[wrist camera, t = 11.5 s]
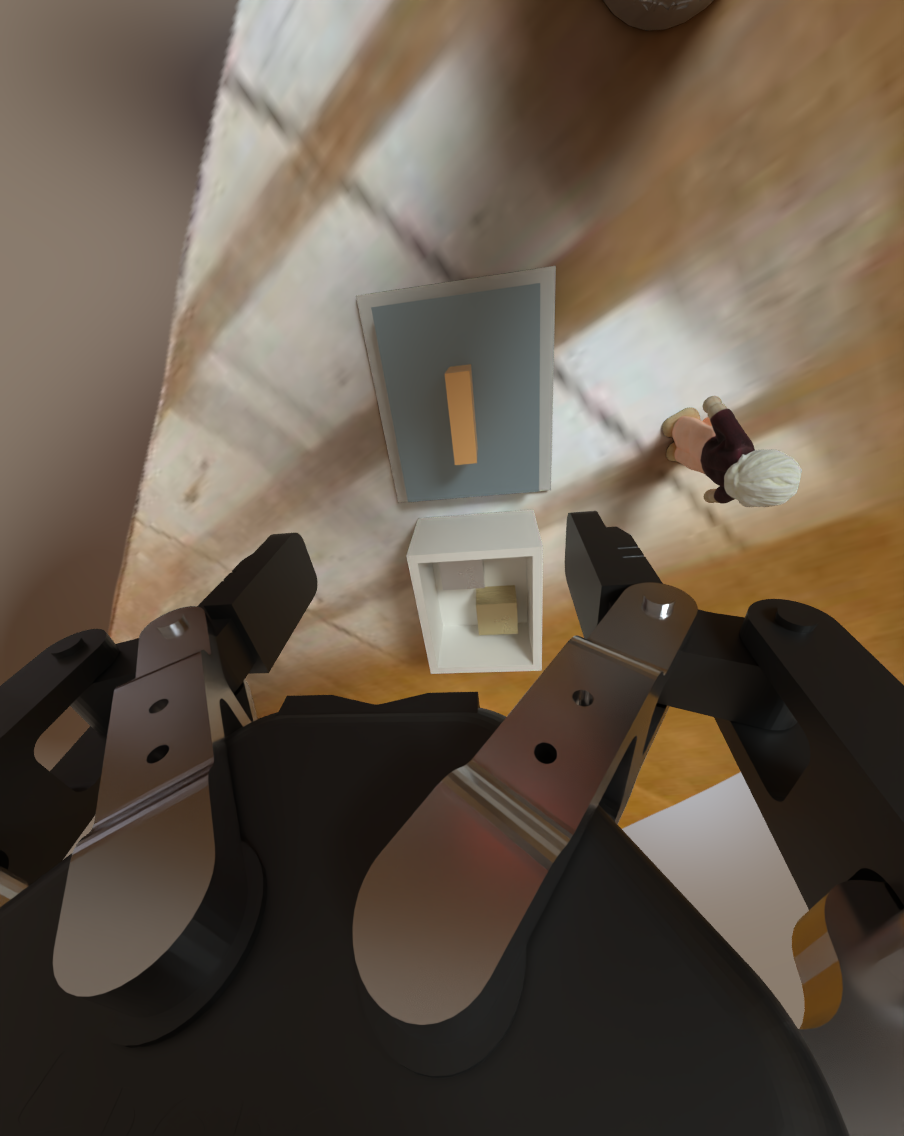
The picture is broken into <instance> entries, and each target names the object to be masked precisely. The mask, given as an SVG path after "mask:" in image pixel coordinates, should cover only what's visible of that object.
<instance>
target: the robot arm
mask: <svg viewBox="0 0 904 1136" xmlns="http://www.w3.org/2000/svg"><path fill="white" fill-rule="evenodd" d="M603 1H604V2H605V4H606V5H607V6H608V8H609V9H610V10H611V11H612V13H613V14H614V15H615V16H617V17H618V18H619V19H621V20H622V21H624V22H625V23H626V24H628V25H629V26H633V27H636V28H640V29H643V30H646V31H647V30H664V29H668V28H670V27H673V26H676V25H679V24H681V23H684V22H686V21H687V20H689V19H690V18H692V17H693V16H695V15H696V14H698V13H699V12H701V11H702V10H704V9H705V8H706V7H707V6H708V5H709V4H710V3H711V2H712V1H713V0H603ZM565 574H566V580H567V583H568V587H569V590H570V593H571V596H572V600H573V603H574V606H575V609H576V613H577V616H578V619H579V622H580V625H581V629H582V632H583V635H584V638H582V637H580V636H574V637H572V638H571V639H570V640H569V641H568V642H567V643H566V645H565V646H564V647H563V648H562V650H561V651H560V652H559V653H558V655H557V656H556V657H555V658H554V659H553V661H552V662H551V663H550V664H549V666H548V667H547V668H546V669H545V670H544V672H543V673H542V674H541V675H540V677H539V678H538V679H537V680H536V682H535V683H534V684H533V685H532V686H531V688H530V689H529V690H528V691H527V693H526V694H525V695H524V696H523V697H522V699H521V700H520V701H519V702H518V704H517V705H516V706H515V707H514V709H513V710H512V711H511V712H510V713H509V715H508V716H507V717H506V716H504V715H501V714H499V713H496V712H494V711H491V710H488V709H483V708H480V705H479V697H478V692H447V693H426V694H422V695H418V696H414V697H409V698H405V699H401V700H397V701H392V702H388V703H384V704H379V705H374V704H369V703H364V702H360V701H356V700H351V699H347V698H343V697H338V696H334V695H307V696H287V697H286V699H285V701H284V703H283V705H282V707H281V708H280V710H279V712H277V713H274V714H271V715H268V716H265V717H262V718H260V719H258V718H257V714H256V710H255V706H254V702H253V698H252V695H251V691H250V687H249V685H248V683H247V682H246V680H245V678H246V676H247V675H248V673H269V671H270V670H271V668H272V666H273V665H274V663H275V661H276V660H277V658H278V656H279V655H280V653H281V651H282V650H283V648H284V646H285V645H286V643H287V641H288V640H289V638H290V636H291V634H292V633H293V631H294V629H295V628H296V626H297V624H298V623H299V621H300V619H301V618H302V616H303V614H304V613H305V611H306V609H307V608H308V606H309V604H310V603H311V601H312V599H313V598H314V596H315V594H316V591H317V576H316V573H315V570H314V568H313V565H312V562H311V560H310V557H309V554H308V551H307V549H306V546H305V543H304V541H303V539H302V537H301V536H300V535H299V534H298V533H285V534H273V535H271V536H269V537H268V538H267V540H266V541H265V542H264V543H263V544H262V545H261V546H260V547H259V548H258V549H257V550H256V551H255V552H254V553H253V554H252V555H250V556H248V557H247V558H245V559H244V560H242V561H241V562H240V563H239V564H238V565H237V566H236V567H235V568H234V569H233V570H232V573H229V574H228V576H227V577H226V578H225V579H224V581H222V582H221V583H220V584H219V585H218V586H217V587H216V588H215V589H214V590H213V591H212V592H211V593H210V594H209V595H208V596H207V597H206V598H205V599H204V600H203V601H202V602H201V603H200V604H199V605H198V606H197V607H196V606H190V607H183V608H179V609H176V610H173V611H171V612H168V613H166V614H164V615H162V616H160V617H158V618H157V619H155V620H154V621H152V622H151V623H150V624H149V625H147V626H146V627H145V628H144V630H143V631H142V632H141V634H140V637H139V638H138V639H134V640H130V641H126V642H122V643H118V644H115V643H114V642H113V640H112V639H111V638H110V637H109V635H108V634H107V633H106V632H105V631H104V630H102V629H91V630H86V631H82V632H79V633H76V634H73V635H71V636H69V637H66V638H64V639H62V640H60V641H58V642H56V643H55V644H53V645H51V646H50V647H48V648H47V649H46V650H44V651H43V652H42V653H40V654H39V655H38V656H37V657H35V658H34V659H33V660H32V661H30V662H29V663H28V664H27V665H26V666H24V667H23V668H22V669H21V670H19V671H18V672H17V673H16V674H15V675H13V676H12V677H11V678H10V679H8V680H7V681H6V682H5V683H3V684H2V685H1V686H0V1136H904V685H903V684H902V683H901V682H900V681H899V680H897V679H896V678H895V677H894V676H893V675H892V674H891V673H890V672H889V671H888V670H887V669H886V668H885V667H884V666H883V665H882V664H881V663H880V662H879V661H878V660H877V659H876V658H875V657H874V656H873V655H872V654H871V653H869V652H868V651H867V650H866V649H865V648H864V647H863V646H862V645H861V644H860V643H859V642H858V641H857V640H856V639H855V638H854V637H853V636H852V635H851V634H850V633H849V632H848V631H847V630H846V629H845V628H844V627H842V626H841V625H840V624H839V623H838V622H837V621H836V620H835V619H834V618H832V617H831V616H829V615H828V614H826V613H824V612H822V611H820V610H818V609H816V608H814V607H811V606H808V605H806V604H802V603H799V602H795V601H790V600H782V599H766V600H760V601H757V602H755V603H753V604H752V605H751V606H750V607H749V609H748V611H747V614H746V616H745V618H744V617H737V616H731V615H724V614H717V613H711V612H706V611H702V610H698V607H697V604H696V602H695V601H694V599H693V598H692V597H691V596H689V595H688V594H687V593H685V592H684V591H682V590H680V589H678V588H676V587H673V586H670V585H666V584H663V583H662V582H661V580H660V579H659V577H658V576H657V574H656V573H655V571H654V570H653V568H652V567H651V565H650V564H649V562H648V560H647V559H646V557H644V554H643V553H642V551H641V550H640V548H638V545H637V544H636V542H635V541H634V539H633V538H632V536H631V535H630V534H628V533H626V532H625V531H623V530H621V529H620V528H618V527H606V526H605V525H604V523H603V521H602V519H601V518H600V516H599V514H598V512H597V511H588V512H574V513H568V516H567V527H566V548H565ZM69 706H71V707H72V708H73V709H74V710H75V711H76V712H77V713H78V714H79V715H80V716H81V717H82V718H83V719H84V720H85V721H86V722H87V723H88V724H89V725H90V727H89V728H88V729H87V731H86V732H85V733H84V734H83V735H82V736H81V737H80V738H79V740H78V741H77V742H76V743H75V744H74V745H73V746H72V748H71V749H70V750H69V751H68V752H67V753H66V754H65V756H64V757H63V758H62V759H61V760H60V761H59V762H58V763H57V764H56V765H55V767H54V768H53V769H52V770H51V771H48V770H47V769H46V768H44V767H43V766H42V765H41V764H40V763H38V762H37V761H36V759H35V757H34V747H35V744H36V741H37V740H38V738H39V737H40V735H41V734H42V733H43V732H44V731H45V730H46V729H47V728H48V727H49V726H50V725H51V724H52V723H53V722H54V721H55V720H56V719H57V718H58V717H59V716H60V715H61V714H62V713H63V712H64V711H65V710H66V709H67V708H68V707H69ZM670 706H671V707H675V708H679V709H683V710H688V711H692V712H696V713H700V714H704V715H708V716H712V717H714V718H715V720H716V722H717V724H718V726H719V728H720V730H721V732H722V734H723V736H724V738H725V740H726V742H727V744H728V746H729V748H730V751H731V753H732V755H733V757H734V759H735V761H736V763H737V765H738V767H739V769H740V771H741V773H742V775H743V777H744V779H745V781H746V783H747V785H748V787H749V789H750V791H751V793H752V795H753V797H754V799H755V801H756V803H757V805H758V807H759V809H760V811H761V813H762V815H763V817H764V819H765V821H766V823H767V825H768V828H769V830H770V832H771V834H772V836H773V838H774V840H775V841H776V844H777V846H778V848H779V850H780V852H781V854H782V856H783V858H784V860H785V862H786V864H787V866H788V868H789V870H790V872H791V874H792V876H793V878H794V880H795V882H796V884H797V886H798V888H799V890H800V892H801V894H802V896H803V898H804V900H805V902H806V905H807V907H808V909H809V911H808V912H807V913H806V914H805V915H804V916H802V917H801V918H800V919H799V921H798V922H797V924H796V925H795V927H794V931H793V935H792V950H793V956H794V960H795V963H796V967H797V970H798V973H799V976H800V979H801V983H802V987H803V993H804V1000H805V1012H804V1017H803V1023H802V1025H801V1027H800V1029H798V1028H797V1027H796V1026H795V1024H794V1022H793V1021H792V1019H791V1018H790V1017H789V1015H788V1013H787V1012H786V1011H785V1009H784V1008H783V1006H782V1005H781V1003H780V1002H779V1001H778V999H777V998H776V997H775V996H774V994H773V993H772V992H771V990H770V989H769V988H768V987H767V986H766V984H765V983H764V982H763V981H762V980H761V978H760V977H759V976H758V975H757V974H756V973H755V971H753V969H752V968H751V967H750V966H749V965H748V964H747V963H746V962H745V961H744V960H743V958H741V956H740V955H739V954H738V953H737V952H736V951H735V950H734V949H733V948H732V947H731V946H730V945H729V944H728V942H727V941H726V940H725V939H724V938H723V937H722V936H721V935H720V934H719V933H718V932H717V931H716V930H715V929H714V928H713V926H712V925H711V924H710V923H709V922H708V921H707V920H706V919H705V918H704V917H703V916H702V915H701V914H700V913H699V912H698V910H697V909H696V908H695V907H694V906H693V905H692V904H691V903H690V902H689V901H688V900H687V899H686V898H685V897H684V896H683V894H682V893H681V892H680V891H679V890H678V889H677V888H676V887H675V886H674V885H673V884H672V883H671V882H670V880H669V879H668V878H667V877H666V876H665V875H664V874H663V873H662V872H661V871H660V870H659V869H658V868H657V867H656V866H655V864H654V863H653V862H652V861H651V860H650V859H649V858H648V857H647V856H646V855H645V854H644V853H643V852H642V850H640V848H639V847H638V846H637V845H636V844H635V843H634V842H633V841H632V840H631V839H630V838H629V837H628V836H627V835H626V833H625V832H624V831H623V830H622V829H621V828H620V827H619V826H618V825H617V824H618V822H619V820H620V818H621V815H622V813H623V811H624V809H625V807H626V804H627V802H628V800H629V797H630V795H631V792H632V789H633V787H634V784H635V781H636V778H637V776H638V773H639V771H640V768H641V766H642V764H643V762H644V760H645V758H646V755H647V753H648V751H649V749H650V747H651V745H652V743H653V741H654V738H655V736H656V734H657V732H658V730H659V728H660V726H661V724H662V721H663V719H664V717H665V715H666V713H667V711H668V709H669V707H670ZM94 816H95V821H94V825H93V828H92V830H91V831H90V832H89V834H87V835H86V836H84V837H83V838H82V839H81V840H80V841H79V842H78V844H77V845H76V847H75V849H74V851H73V853H72V854H70V855H69V856H68V857H66V858H65V859H64V857H65V856H66V854H67V853H68V852H69V850H70V849H71V848H72V846H73V845H74V843H75V842H76V840H77V839H78V838H79V836H80V835H81V834H82V832H83V831H84V829H85V828H86V827H87V825H88V824H89V823H90V821H91V820H92V818H93V817H94ZM63 859H64V860H63Z"/></svg>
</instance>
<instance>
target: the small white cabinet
mask: <svg viewBox="0 0 904 1136" xmlns="http://www.w3.org/2000/svg"><path fill="white" fill-rule="evenodd" d="M406 557H407V561H408V566H409V571H410V576H411V581H412V585H413V590H414V595H415V600H416V604H417V609H418V614H419V619H420V623H421V628H422V633H423V638H424V642H425V647H426V652H427V657H428V662H429V666H430V671H431V674H438V673H472V672H507V671H541V670H542V588H543V545H542V541H541V537H540V533H539V530H538V526H537V522H536V518H535V514H534V510H521V511H508V512H495V513H482V514H469V515H456V516H444V517H431V518H418V521H417V524H416V527H415V530H414V533H413V536H412V540H411V543H410V546H409V549H408V552H407V555H406ZM479 559H484V571H485V587H489V586H507V585H515V591H516V599H517V619H518V634H498V635H479V630H478V620H477V611H476V589H458V590H443V586H442V580H441V574H440V567H439V562H448V561H463V560H479Z"/></svg>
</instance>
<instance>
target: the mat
mask: <svg viewBox="0 0 904 1136" xmlns="http://www.w3.org/2000/svg"><path fill="white" fill-rule="evenodd" d="M555 277H556V266H550V267H544V268H537V269H531V270H524V271H517V272H511V273H504V274H497V275H491V276H484V277H477V278H471V279H464V280H458V281H451V282H444V283H438V284H431V285H424V286H418V287H411V288H404V289H398V290H391V291H384V292H378V293H371V294H365V295H358V296H356V299H357V304H358V309H359V313H360V318H361V323H362V328H363V333H364V338H365V343H366V348H367V352H368V357H369V362H370V367H371V372H372V377H373V382H374V387H375V391H376V396H377V401H378V406H379V411H380V416H381V421H382V426H383V430H384V435H385V440H386V445H387V450H388V455H389V460H390V465H391V469H392V474H393V479H394V484H395V489H396V494H397V499H398V503H401V502H408V499H407V494H406V489H405V484H404V478H403V473H402V468H401V463H400V457H399V452H398V447H397V441H396V436H395V431H394V426H393V420H392V415H391V410H390V405H389V399H388V394H387V389H386V383H385V378H384V373H383V368H382V362H381V357H380V352H379V346H378V341H377V336H376V331H375V325H374V320H373V315H372V310H371V307H377V306H384V305H391V304H398V303H405V302H412V301H419V300H426V299H432V298H439V297H446V296H453V295H460V294H467V293H474V292H481V291H488V290H494V289H501V288H508V287H515V286H522V285H529V284H536V283H540V435H539V491H545V490H551V461H552V415H553V369H554V323H555Z"/></svg>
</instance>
